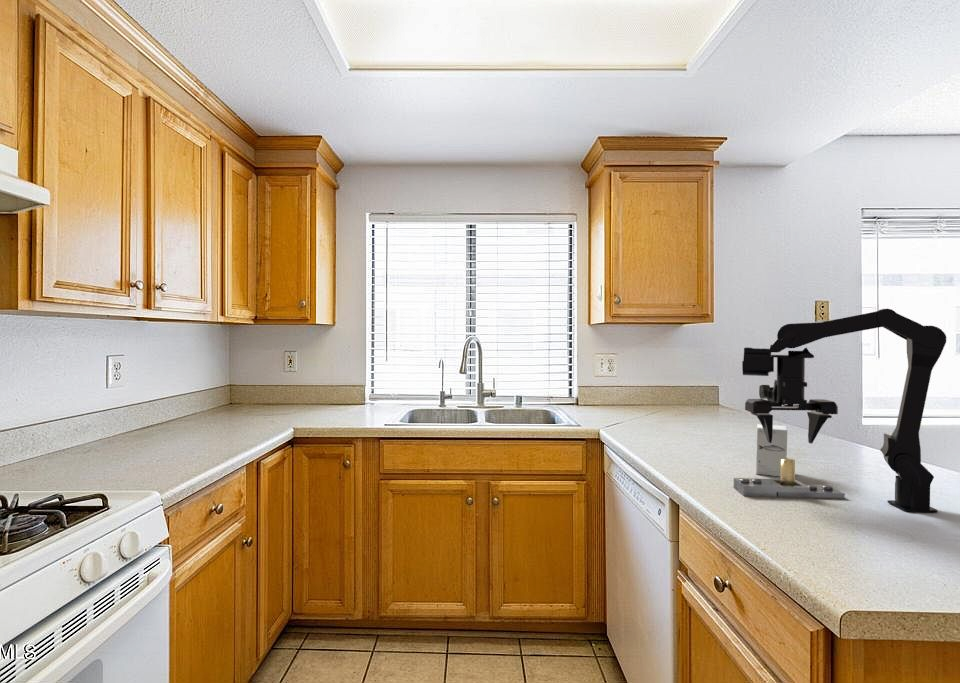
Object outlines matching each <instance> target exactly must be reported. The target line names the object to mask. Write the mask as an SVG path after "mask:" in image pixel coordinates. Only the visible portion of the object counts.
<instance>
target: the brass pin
mask: <svg viewBox="0 0 960 683" xmlns="http://www.w3.org/2000/svg"><path fill="white" fill-rule="evenodd" d="M795 469H796V460H795V459H794V458H781V467H780V476H779V479H780V485H782V486H795V479H796V470H795Z"/></svg>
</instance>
